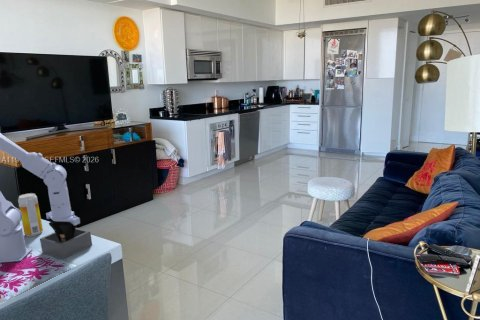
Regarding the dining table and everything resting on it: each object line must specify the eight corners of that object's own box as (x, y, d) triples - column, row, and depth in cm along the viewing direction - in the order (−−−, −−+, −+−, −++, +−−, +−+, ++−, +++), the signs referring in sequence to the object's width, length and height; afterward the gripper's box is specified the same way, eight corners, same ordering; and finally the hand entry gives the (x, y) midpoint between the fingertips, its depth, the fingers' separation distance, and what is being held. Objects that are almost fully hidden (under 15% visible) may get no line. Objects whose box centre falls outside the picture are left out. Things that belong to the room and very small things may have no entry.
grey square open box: (42, 252, 122) (39, 238, 121) (71, 238, 131) (69, 226, 130) (63, 259, 117) (61, 244, 115) (92, 244, 126) (90, 231, 125)
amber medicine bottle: (39, 228, 141) (32, 191, 138) (46, 232, 138) (39, 194, 134) (22, 234, 137) (14, 196, 133) (28, 238, 133) (21, 199, 130)
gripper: (85, 201, 120) (91, 240, 123) (57, 196, 127) (63, 232, 130) (66, 209, 114) (72, 249, 117) (37, 203, 121) (44, 240, 124)
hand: (66, 241), depth 123 cm, fingers closed on plunger, 3 cm apart
